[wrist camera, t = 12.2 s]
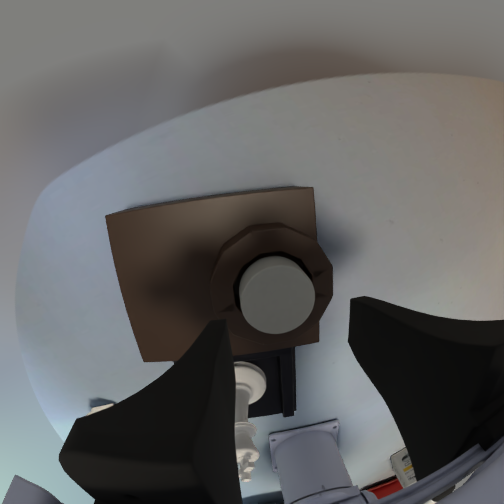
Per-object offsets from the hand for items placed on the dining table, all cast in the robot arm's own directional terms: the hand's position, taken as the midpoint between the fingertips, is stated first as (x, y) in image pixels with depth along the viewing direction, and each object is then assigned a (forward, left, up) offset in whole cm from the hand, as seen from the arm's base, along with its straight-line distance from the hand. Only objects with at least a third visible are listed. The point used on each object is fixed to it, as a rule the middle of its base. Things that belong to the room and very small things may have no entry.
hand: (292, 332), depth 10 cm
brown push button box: (0, +3, -10) cm, 11 cm away
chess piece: (-10, +3, -10) cm, 14 cm away
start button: (0, 0, -5) cm, 5 cm away
